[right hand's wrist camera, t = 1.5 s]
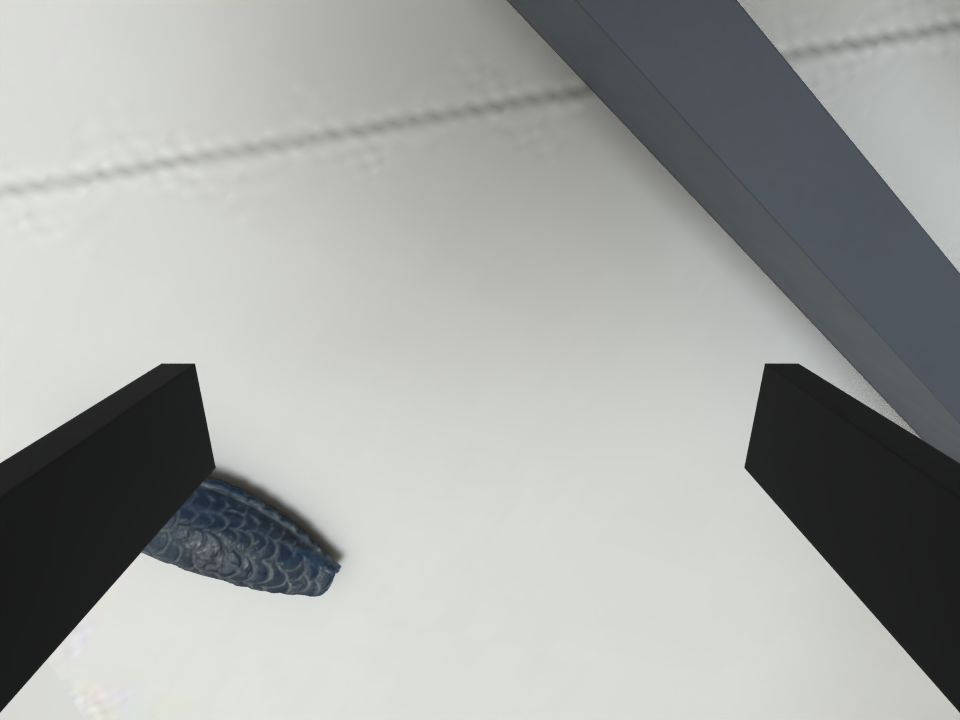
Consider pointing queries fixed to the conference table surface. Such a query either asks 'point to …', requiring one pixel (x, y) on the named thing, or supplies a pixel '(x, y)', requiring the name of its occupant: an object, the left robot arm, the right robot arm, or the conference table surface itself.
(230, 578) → the fish model
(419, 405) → the conference table surface
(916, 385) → the bar
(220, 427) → the conference table surface
